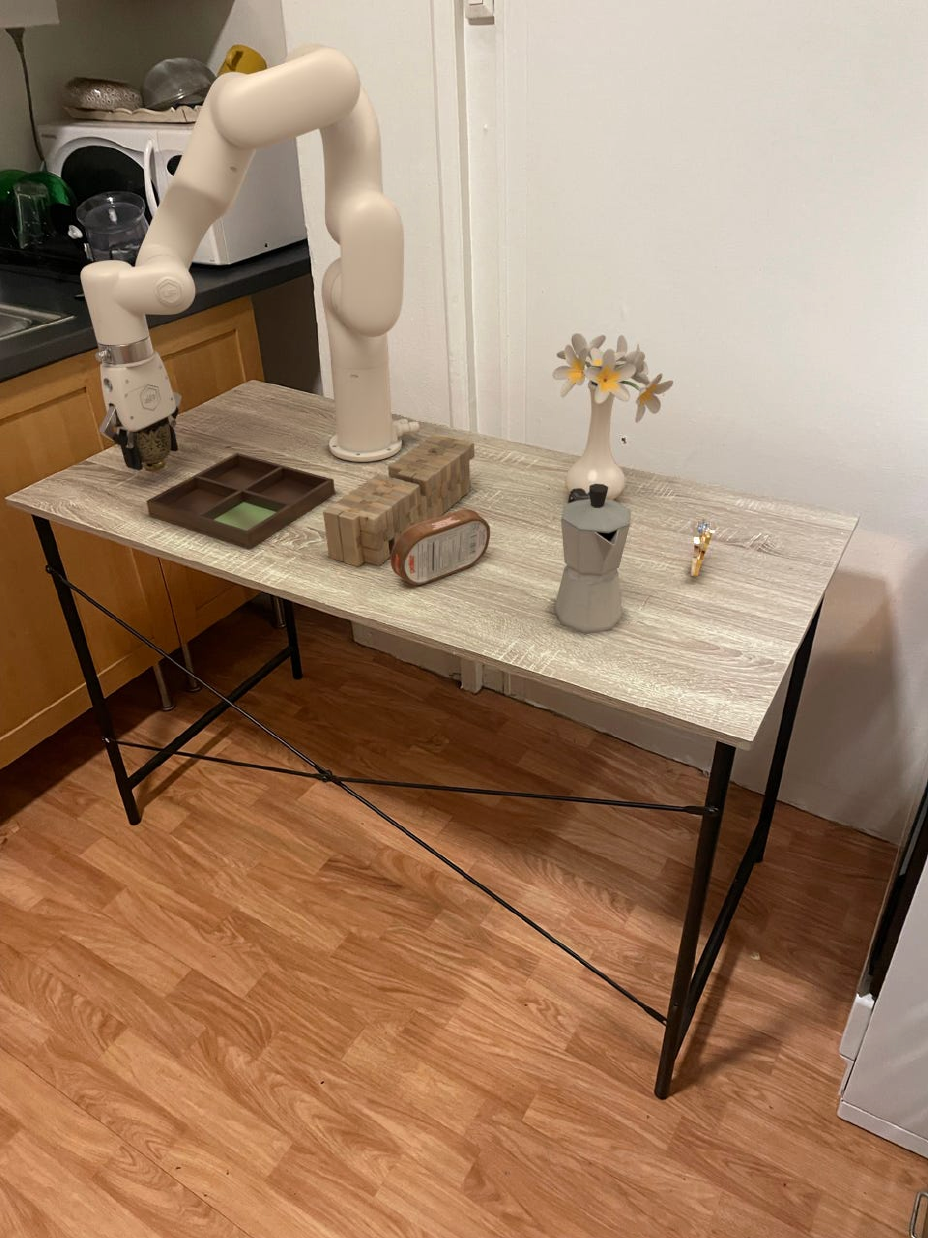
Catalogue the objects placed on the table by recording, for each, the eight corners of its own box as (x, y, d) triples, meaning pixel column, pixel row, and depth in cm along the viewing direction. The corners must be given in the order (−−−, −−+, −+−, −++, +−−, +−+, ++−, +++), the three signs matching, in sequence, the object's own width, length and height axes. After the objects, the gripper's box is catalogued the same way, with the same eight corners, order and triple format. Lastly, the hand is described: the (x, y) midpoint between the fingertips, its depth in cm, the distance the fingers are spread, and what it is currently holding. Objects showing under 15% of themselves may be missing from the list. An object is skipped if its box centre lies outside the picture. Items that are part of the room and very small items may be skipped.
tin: (480, 552, 131) (480, 499, 126) (493, 561, 129) (494, 508, 124) (390, 586, 123) (387, 531, 119) (403, 596, 121) (400, 541, 117)
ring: (702, 589, 122) (712, 536, 118) (678, 584, 123) (686, 532, 119) (711, 563, 128) (720, 512, 123) (688, 559, 129) (696, 508, 124)
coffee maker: (638, 637, 113) (654, 507, 103) (569, 646, 112) (579, 516, 102) (598, 575, 125) (609, 453, 115) (536, 582, 124) (542, 460, 114)
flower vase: (629, 535, 134) (648, 368, 120) (526, 499, 144) (532, 340, 130) (671, 502, 143) (693, 343, 129) (571, 470, 152) (581, 318, 138)
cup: (171, 478, 145) (160, 430, 141) (125, 479, 145) (113, 431, 141) (184, 457, 151) (174, 411, 147) (140, 458, 152) (128, 412, 147)
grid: (239, 466, 154) (236, 452, 153) (335, 494, 146) (333, 479, 144) (149, 516, 140) (145, 500, 138) (250, 549, 132) (247, 533, 130)
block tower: (373, 577, 127) (477, 487, 147) (368, 524, 122) (476, 439, 142) (327, 562, 130) (435, 476, 150) (320, 510, 125) (433, 429, 145)
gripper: (98, 372, 129) (128, 485, 140) (186, 335, 142) (208, 442, 152) (62, 364, 133) (94, 475, 143) (151, 329, 145) (175, 434, 155)
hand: (152, 458), depth 147 cm, fingers closed on cup, 7 cm apart
